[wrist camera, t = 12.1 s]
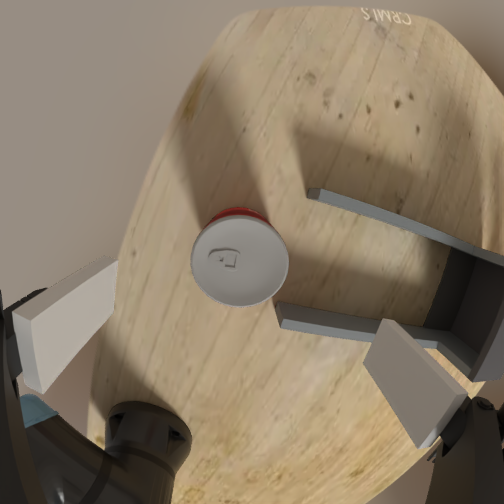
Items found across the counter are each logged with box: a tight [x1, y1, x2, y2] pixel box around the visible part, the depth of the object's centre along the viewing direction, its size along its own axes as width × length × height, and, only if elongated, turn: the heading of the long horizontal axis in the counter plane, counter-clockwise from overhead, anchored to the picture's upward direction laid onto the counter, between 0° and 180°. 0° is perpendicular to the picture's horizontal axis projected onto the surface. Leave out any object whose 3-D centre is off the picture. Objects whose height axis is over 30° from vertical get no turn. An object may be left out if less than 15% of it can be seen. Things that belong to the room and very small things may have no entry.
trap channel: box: [275, 188, 504, 382], centre depth 29 cm, size 32×15×14 cm, turn 76°
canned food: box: [191, 207, 289, 308], centre depth 28 cm, size 8×8×11 cm
